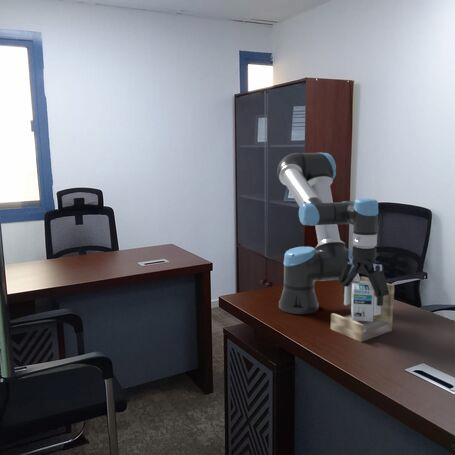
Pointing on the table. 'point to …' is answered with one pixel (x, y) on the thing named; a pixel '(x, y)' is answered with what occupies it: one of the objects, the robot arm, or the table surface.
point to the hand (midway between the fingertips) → (361, 309)
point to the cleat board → (367, 328)
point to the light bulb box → (362, 301)
